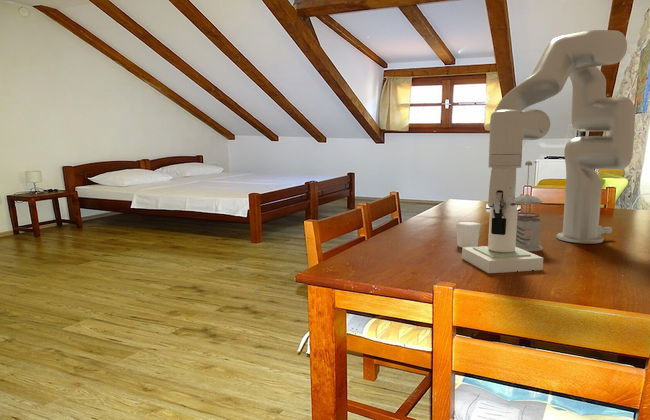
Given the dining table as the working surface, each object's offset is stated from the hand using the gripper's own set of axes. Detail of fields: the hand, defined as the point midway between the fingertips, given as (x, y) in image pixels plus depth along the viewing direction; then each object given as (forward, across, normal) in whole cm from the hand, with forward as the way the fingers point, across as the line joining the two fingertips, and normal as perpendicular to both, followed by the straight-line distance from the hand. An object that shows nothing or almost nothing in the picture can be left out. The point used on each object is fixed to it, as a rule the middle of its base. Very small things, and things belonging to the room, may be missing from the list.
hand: (501, 230), depth 114 cm
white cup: (+9, -16, -12) cm, 22 cm away
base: (+9, 0, 0) cm, 9 cm away
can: (+5, 0, 0) cm, 5 cm away
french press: (+9, -22, +2) cm, 24 cm away
